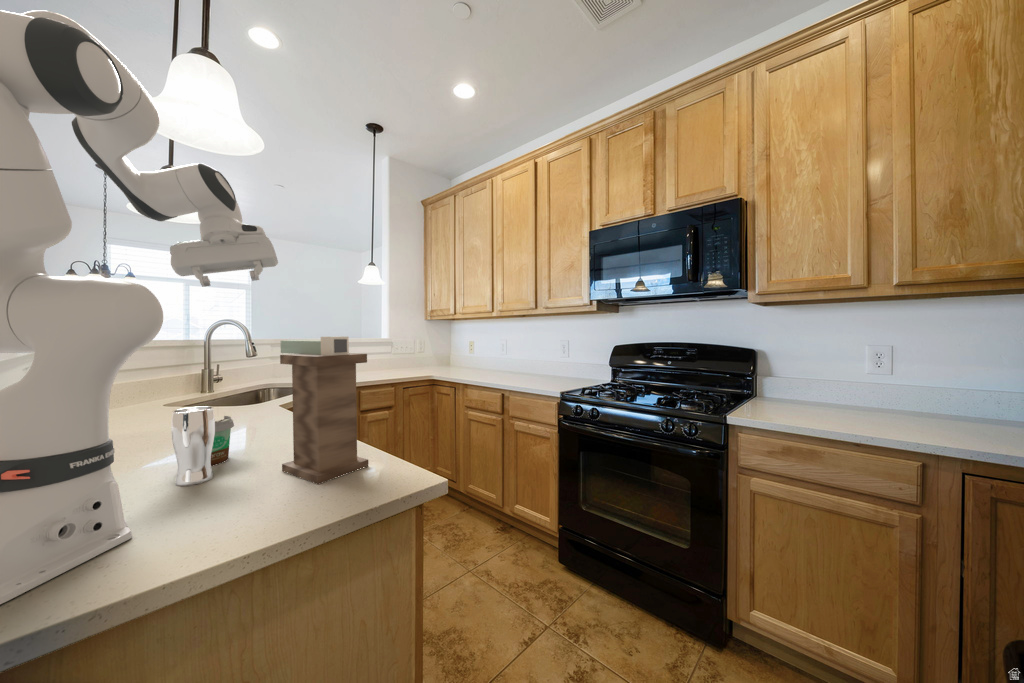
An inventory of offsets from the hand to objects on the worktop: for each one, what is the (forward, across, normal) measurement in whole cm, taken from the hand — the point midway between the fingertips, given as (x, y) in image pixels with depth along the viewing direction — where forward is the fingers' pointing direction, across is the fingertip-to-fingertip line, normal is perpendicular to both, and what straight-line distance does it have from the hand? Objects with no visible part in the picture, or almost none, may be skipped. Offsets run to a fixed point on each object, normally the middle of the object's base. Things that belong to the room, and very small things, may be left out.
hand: (230, 281), depth 86 cm
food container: (+31, -13, +28) cm, 43 cm away
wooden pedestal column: (+44, +10, +16) cm, 48 cm away
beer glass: (+37, -14, +18) cm, 44 cm away
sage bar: (+20, +12, +5) cm, 24 cm away
